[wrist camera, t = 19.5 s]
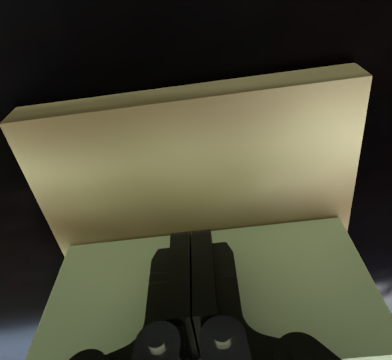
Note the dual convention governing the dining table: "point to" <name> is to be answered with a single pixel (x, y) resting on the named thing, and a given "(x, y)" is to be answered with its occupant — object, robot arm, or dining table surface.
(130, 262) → the block
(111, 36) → the dining table surface
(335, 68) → the vise
